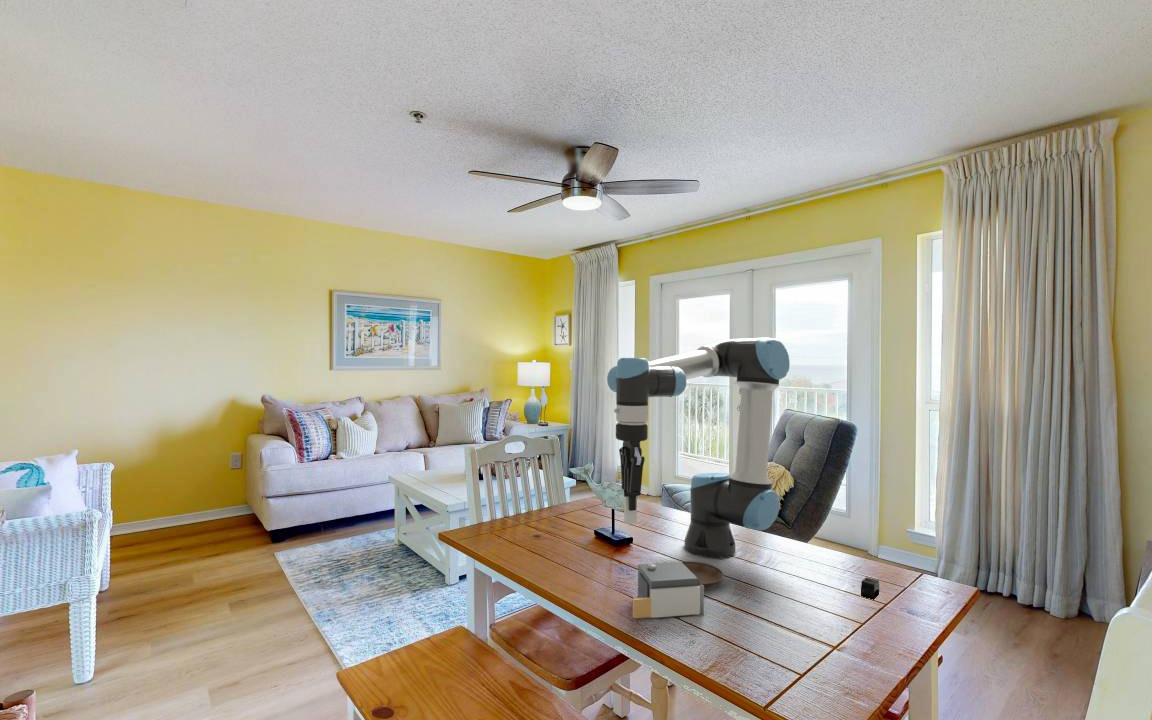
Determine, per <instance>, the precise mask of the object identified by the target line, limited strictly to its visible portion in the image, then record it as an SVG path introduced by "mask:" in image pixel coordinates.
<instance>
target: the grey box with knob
mask: <svg viewBox="0 0 1152 720" xmlns="http://www.w3.org/2000/svg"><path fill="white" fill-rule="evenodd" d="M682 562H683V561H670V562H669V561H668V562H656V563H655V562H654V563H651V562H650V563H639V564H637V598H647V597H650V589H660V588H674V587H689V586H699V585H700V583H699V580H698V577H697V576H696V575H695V574H693V573H692V572H691V571H690V570H689V569H688V568H687V567H686V566H685V565H684V564H683V563H682Z"/></svg>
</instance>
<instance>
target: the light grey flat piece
mask: <svg viewBox="0 0 1152 720" xmlns="http://www.w3.org/2000/svg"><path fill="white" fill-rule="evenodd" d="M704 603H705V590H704V585H699V586H689V587H674V588H660V589H650V597H647V598H638V597H636V598H632V618H633V619H641V618H642V619H643V618H666V617H677V616H678V617H679V616H690V615H692V616H693V615H698V616H700V617H702V616H704V615H705V613H704V612H705V609H704V608H705V604H704Z"/></svg>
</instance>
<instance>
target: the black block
mask: <svg viewBox="0 0 1152 720" xmlns="http://www.w3.org/2000/svg"><path fill="white" fill-rule="evenodd" d="M860 589H861V596H863V597H866V598H870V599H873V600H874V599H875V598H876V597H877V596H878V595H879V592H880V581H879V580H878V579H874V578H871V577H865V578H864V579H862V580H861V585H860ZM861 596H860V597H861Z"/></svg>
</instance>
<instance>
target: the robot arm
mask: <svg viewBox="0 0 1152 720" xmlns="http://www.w3.org/2000/svg"><path fill="white" fill-rule="evenodd" d="M789 371H790V356H789V352H788V350H787V348H786V346H785V344H784V343H782V341H781V340H779V339H777V338H774V337H772V338H771V337H752V338H751V337H750V338H731V339H725V340H723V341H722V340H721V341H718V342H715V343H711V344H707V345H703V346H700V347H698V348H697V349H696V350H695V351H691V352H686V353H685V352H684V353H682V354H677V355H672V356H667V357H663V358H657V359H654V360H653V359H652V360H649V359H648V358H645V357H620V358H619V359H618V360H617V363H616V365H615V366H612V367H611V368H610V369H609V370H608V373H607V376H606V379H607V380H606V382H607V385H608V386H607V387H608V388H609V389H610V390H611V391H612V392H615V393H616V394H615V395H616V397H615V399H616V402H615V404H616V405H615V406H616V407H615V408H614V409H613V412H614V413H615V415H616V416H615V417H616V419H615V420H616V421H617V422H618V423H616V424H615V439H616V440H618V441H623V442H622V446H621V447H620V448H619V449H618V451H619V459H620V477H621V478H620V479H621V480H620V482H621V490H623V497H624V498H623V499H624V502H623V503H624V504H623V523H624V524H625V525H635V524H638V496H641V493H642V481H643V471H644V464H645V461H646V459H645V456H642V455H643V453H642V452H643V451H642V448H641V442H644V441H646V440H648V436H649V434H648V433H649V432H648V431H649V428H648V427H649V426H648V425H647V424H646V423H648V421H649V398H664V397H665V398H666V397H668V398H672V397H677V396H680V395H682V394H683V393H684V391H685V390H686V388H687V381H688V380H690V379H691V380H692V379H695V378H699V377H704V378H712V377H729V378H731V377H732V378H736V384H737V385H738V386H739V387H740V389H741V393H740V402H739V403H740V404H739V417H738V418H739V419H738V432H737V444H736V445H737V446H736V458H735V471H734V472H733V473H731V475H730V474H729V473H726V472H705V473H697V474H695V475H693V476H692V478H691V479H690V480H691V481H690V482H691V483H690V523H689V525H688V529H687V532H686V534H685V538H684V549H685V550H686V551H687V552H688V553H691V554H693V555H695V556H699V557H703V558H709V557H710V558H711V559H723V558H722V557H724V558H729V557H732V556H734V555H735V554H736V542H735V538H734V536H733V535H734V534H733V533H732V529H731V525H730V523H731V524H733V525H734V524H735V525H737V526H741V527H744V528H746V529H748V530H750V529H751V530H755V531H764V530H768V529H769V528H770V527H771V526H772V525H773V523H774V522H775V521H776V519H777V517H778V515H779V511H780V506H781V503H780V502H781V501H780V498H779V494H778V493H777V492H776V491H775V490H773V488H772V487H773V481H772V480H771V479H770V478H769V477H768V462H769V448H770V437H771V435H770V434H771V433H770V432H771V420H772V408H773V407H772V406H773V396H774V395H773V394H774V391H775V390H776V389H778V387H779V386H780V380H782V379H785V377H787V375H788V373H789ZM734 553H735V554H734ZM733 554H734V555H733ZM731 555H732V556H731ZM728 556H729V557H728Z"/></svg>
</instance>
